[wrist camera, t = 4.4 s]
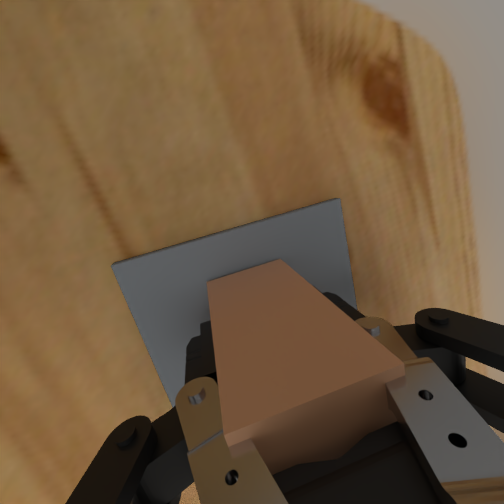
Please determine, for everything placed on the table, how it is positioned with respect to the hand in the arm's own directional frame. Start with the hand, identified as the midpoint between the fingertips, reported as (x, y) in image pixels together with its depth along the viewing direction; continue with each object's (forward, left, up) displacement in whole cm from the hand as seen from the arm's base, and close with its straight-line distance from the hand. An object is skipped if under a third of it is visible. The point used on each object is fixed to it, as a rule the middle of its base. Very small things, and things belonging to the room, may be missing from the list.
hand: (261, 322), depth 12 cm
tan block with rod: (+7, 0, -2) cm, 7 cm away
